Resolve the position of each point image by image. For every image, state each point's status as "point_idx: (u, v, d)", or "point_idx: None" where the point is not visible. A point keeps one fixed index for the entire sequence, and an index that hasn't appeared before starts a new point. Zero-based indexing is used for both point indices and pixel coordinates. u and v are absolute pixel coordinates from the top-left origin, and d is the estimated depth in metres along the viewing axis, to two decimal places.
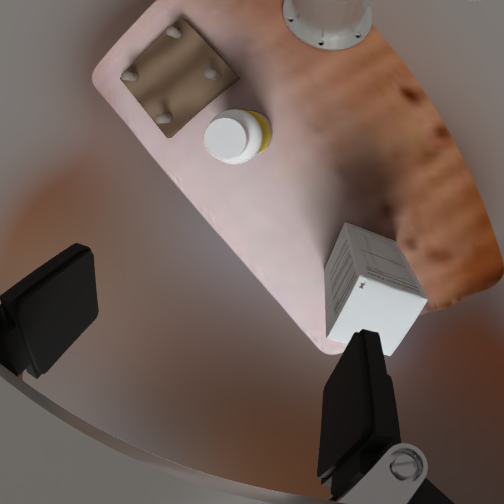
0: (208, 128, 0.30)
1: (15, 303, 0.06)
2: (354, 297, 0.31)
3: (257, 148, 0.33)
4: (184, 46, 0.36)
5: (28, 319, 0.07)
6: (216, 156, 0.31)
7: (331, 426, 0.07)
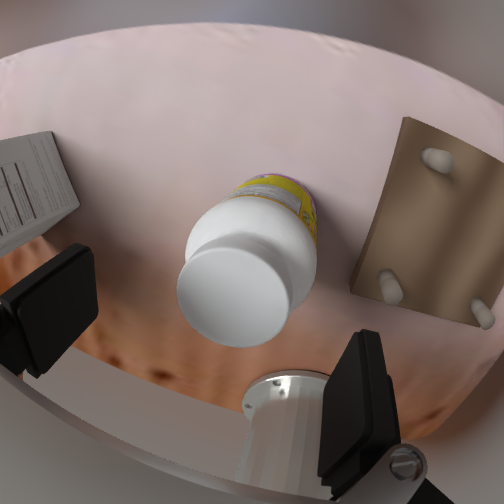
0: (283, 303, 0.11)
1: (15, 303, 0.06)
2: None
3: None
4: (459, 292, 0.21)
5: (28, 319, 0.07)
6: (214, 253, 0.11)
7: (331, 426, 0.07)
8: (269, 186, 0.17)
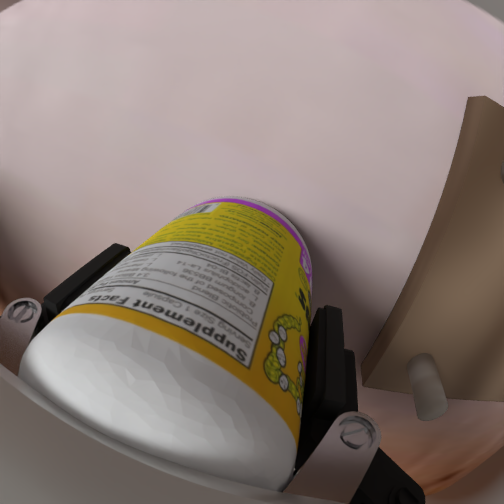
0: None
1: (61, 304, 0.07)
2: None
3: None
4: None
5: None
6: None
7: None
8: (194, 251, 0.07)
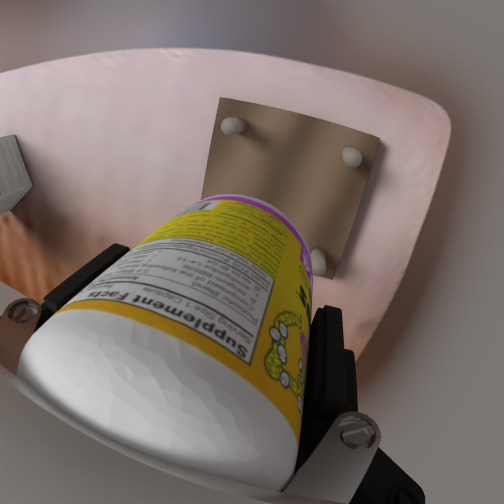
0: None
1: (61, 304, 0.07)
2: None
3: None
4: None
5: None
6: None
7: None
8: (194, 247, 0.07)
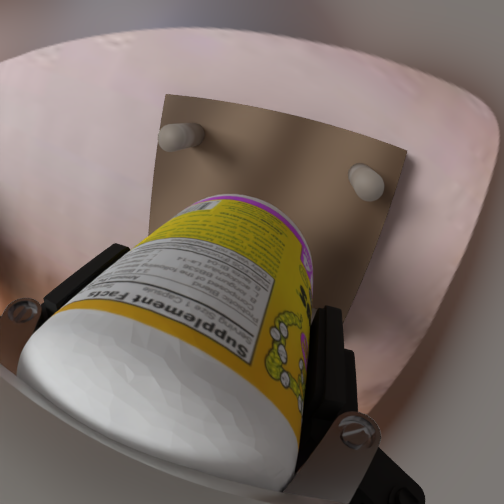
0: None
1: (61, 304, 0.07)
2: None
3: None
4: None
5: None
6: None
7: None
8: (194, 247, 0.07)
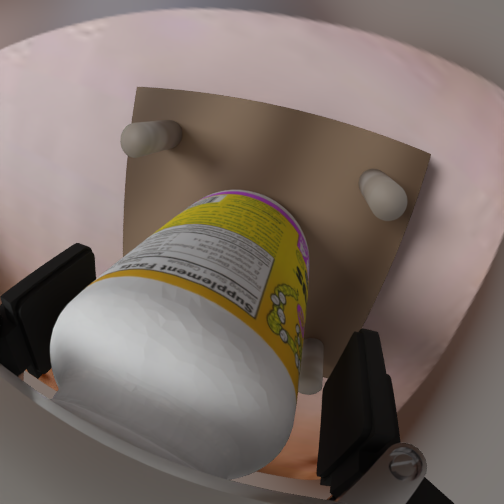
0: None
1: (16, 303, 0.06)
2: None
3: None
4: None
5: (29, 319, 0.07)
6: None
7: (330, 425, 0.08)
8: (207, 231, 0.08)
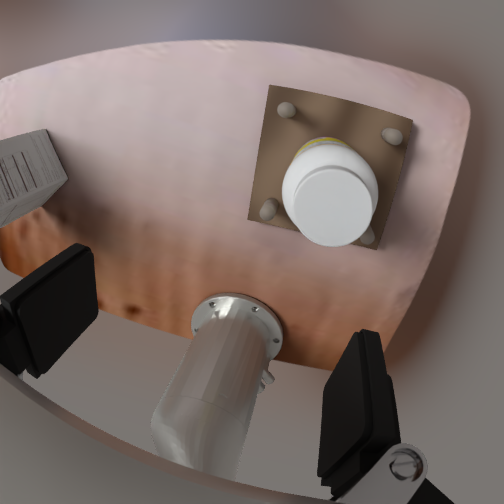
0: (369, 207, 0.16)
1: (15, 303, 0.06)
2: None
3: (285, 206, 0.21)
4: None
5: (28, 319, 0.07)
6: (323, 173, 0.16)
7: (331, 426, 0.07)
8: (334, 141, 0.21)
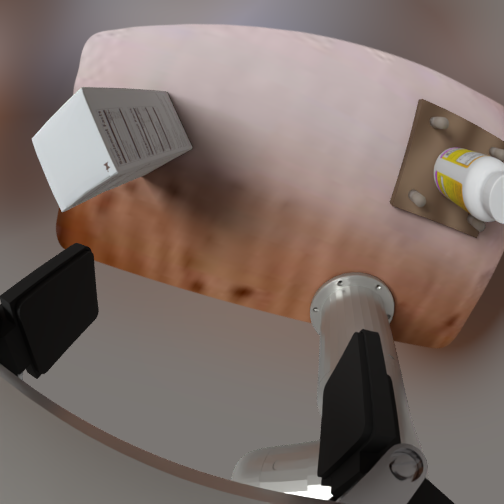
0: None
1: (15, 303, 0.06)
2: (101, 149, 0.22)
3: (466, 194, 0.23)
4: (460, 209, 0.32)
5: (28, 319, 0.07)
6: None
7: (331, 426, 0.07)
8: None
